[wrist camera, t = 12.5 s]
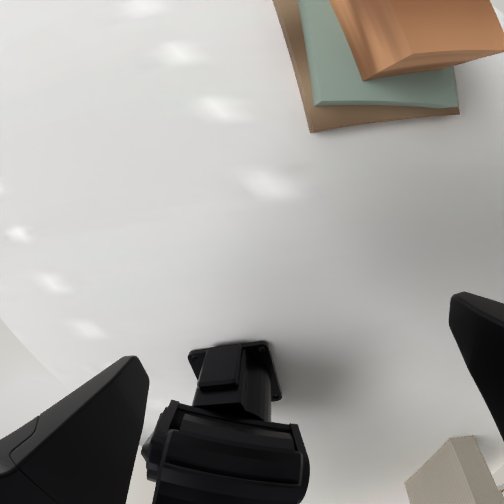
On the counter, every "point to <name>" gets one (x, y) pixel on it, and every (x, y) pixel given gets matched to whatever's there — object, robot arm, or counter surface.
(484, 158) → the counter surface
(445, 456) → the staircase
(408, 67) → the block
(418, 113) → the tower base
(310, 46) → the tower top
